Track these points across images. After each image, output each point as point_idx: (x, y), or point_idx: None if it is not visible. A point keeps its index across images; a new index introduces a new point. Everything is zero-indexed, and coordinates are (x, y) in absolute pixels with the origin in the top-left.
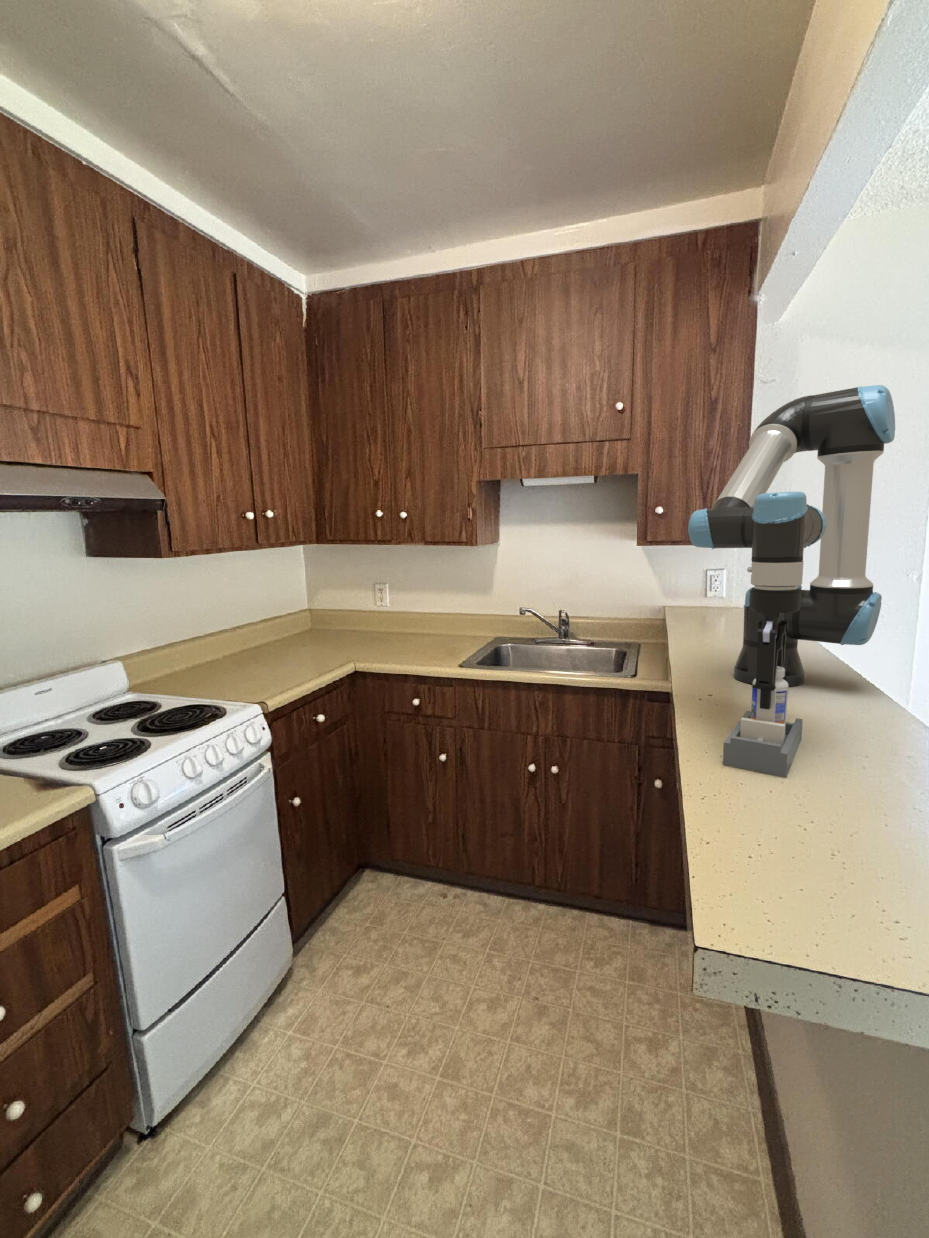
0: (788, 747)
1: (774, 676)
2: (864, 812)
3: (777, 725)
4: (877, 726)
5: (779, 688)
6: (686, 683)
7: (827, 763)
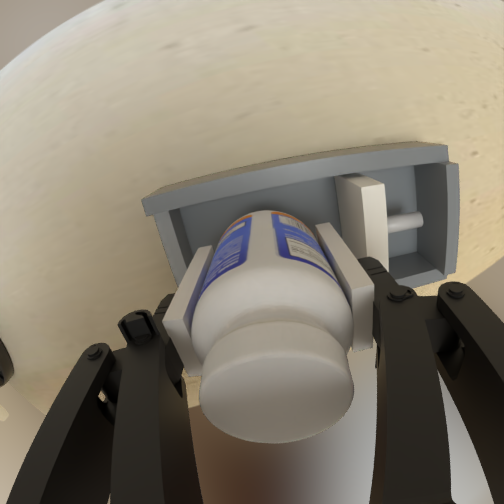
0: (410, 151)
1: (426, 332)
2: (447, 22)
3: (385, 204)
4: (4, 124)
5: (332, 283)
6: None
7: (280, 87)
